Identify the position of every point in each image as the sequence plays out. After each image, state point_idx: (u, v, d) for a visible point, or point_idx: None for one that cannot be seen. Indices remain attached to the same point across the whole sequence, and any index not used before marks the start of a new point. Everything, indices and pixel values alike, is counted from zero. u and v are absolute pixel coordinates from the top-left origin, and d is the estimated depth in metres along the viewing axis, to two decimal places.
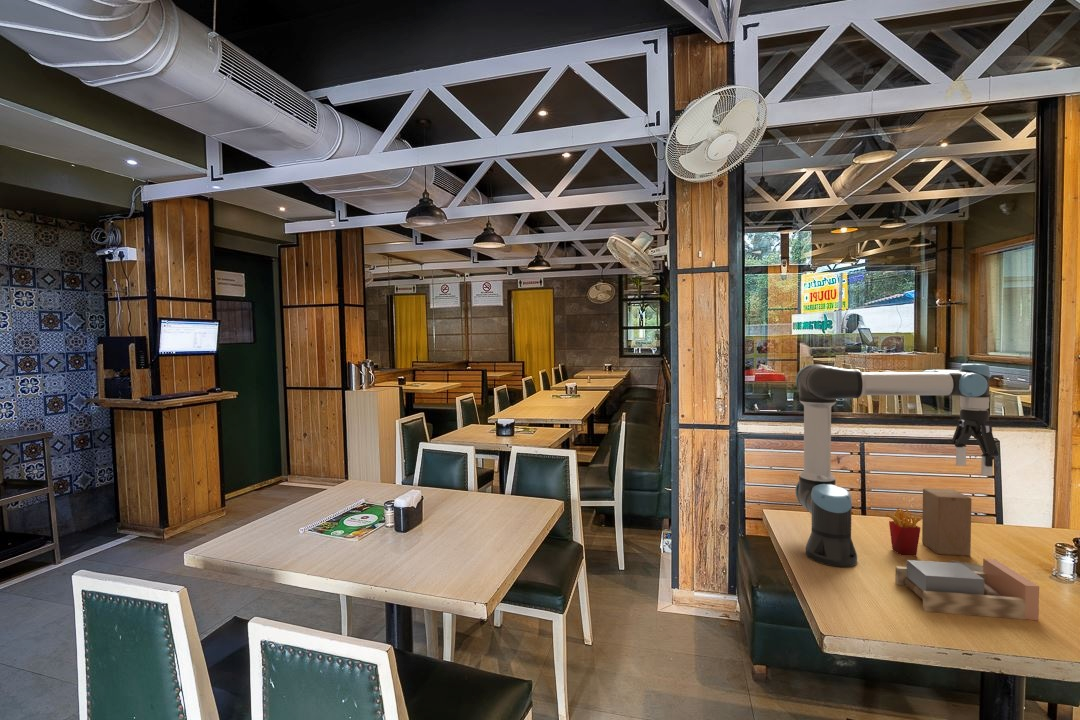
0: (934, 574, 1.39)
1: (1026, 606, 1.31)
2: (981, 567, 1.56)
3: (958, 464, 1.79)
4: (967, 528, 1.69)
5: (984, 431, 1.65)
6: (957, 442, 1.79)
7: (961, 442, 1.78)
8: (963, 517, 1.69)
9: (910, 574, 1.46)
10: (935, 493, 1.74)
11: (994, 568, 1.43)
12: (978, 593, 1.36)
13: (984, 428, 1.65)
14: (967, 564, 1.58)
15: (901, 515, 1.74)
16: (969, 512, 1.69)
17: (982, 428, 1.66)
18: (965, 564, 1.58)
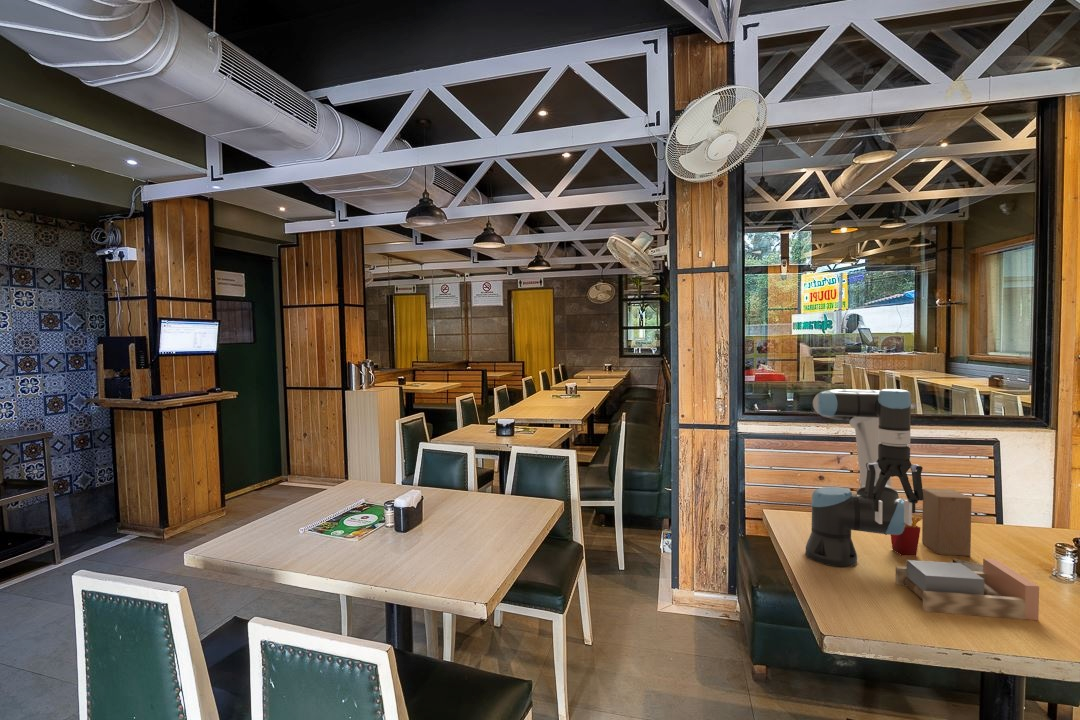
0: (934, 574, 1.39)
1: (1026, 606, 1.31)
2: (982, 566, 1.56)
3: (904, 521, 1.44)
4: (967, 528, 1.69)
5: (867, 469, 1.46)
6: None
7: (906, 492, 1.44)
8: (963, 517, 1.69)
9: (910, 574, 1.46)
10: (935, 493, 1.74)
11: (994, 568, 1.43)
12: (978, 593, 1.36)
13: (866, 466, 1.46)
14: (968, 563, 1.59)
15: None
16: (969, 512, 1.69)
17: None
18: (966, 563, 1.59)
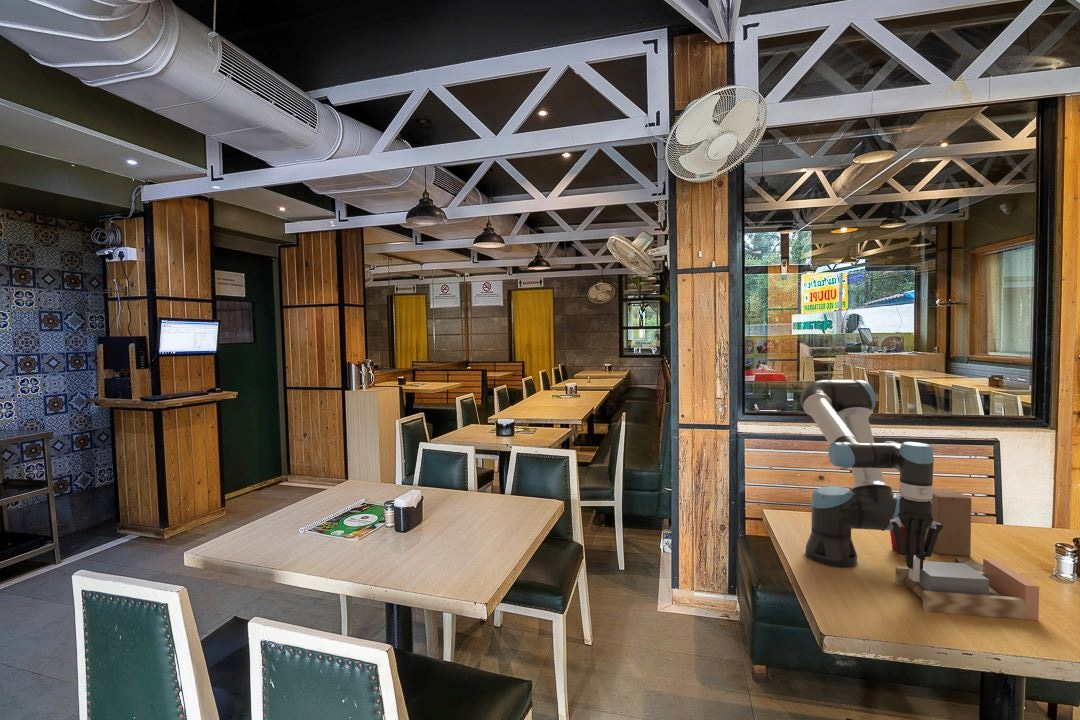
0: (939, 574, 1.39)
1: (1026, 606, 1.31)
2: None
3: None
4: (967, 528, 1.69)
5: (891, 525, 1.45)
6: None
7: (916, 546, 1.43)
8: (962, 517, 1.69)
9: None
10: (935, 493, 1.74)
11: (994, 568, 1.43)
12: (983, 593, 1.36)
13: (889, 523, 1.45)
14: (970, 562, 1.59)
15: None
16: (969, 512, 1.69)
17: None
18: (968, 562, 1.59)
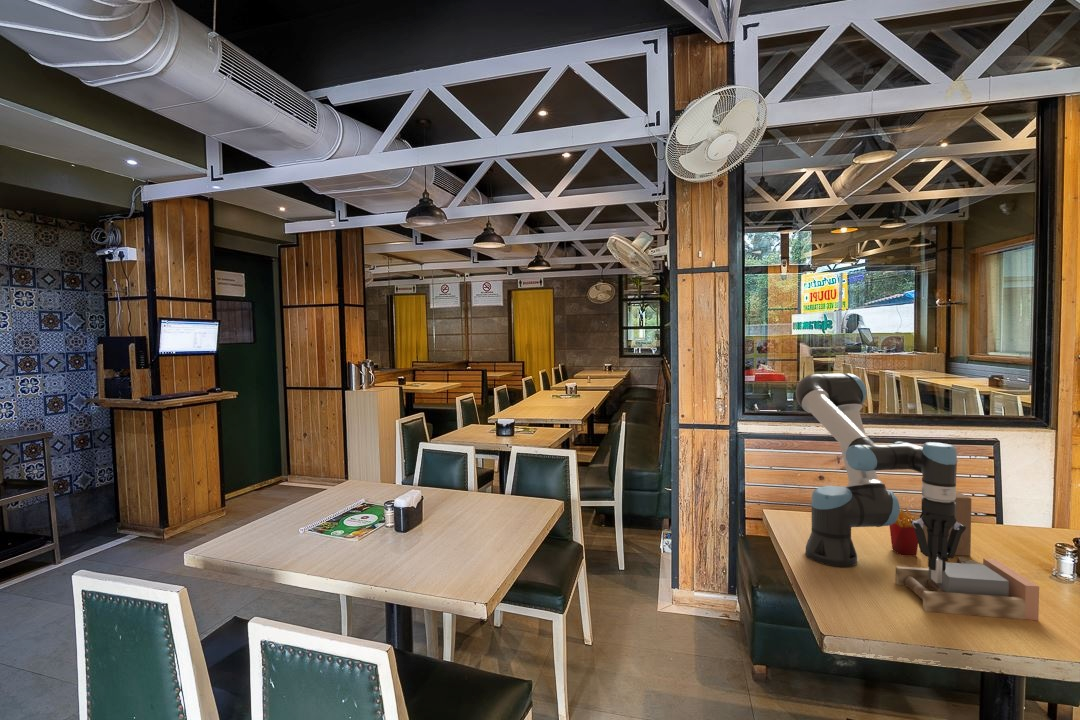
0: (958, 576, 1.38)
1: (1026, 606, 1.31)
2: None
3: None
4: (967, 528, 1.69)
5: (914, 527, 1.44)
6: None
7: (938, 548, 1.42)
8: (962, 517, 1.69)
9: None
10: None
11: (994, 568, 1.43)
12: (1003, 595, 1.35)
13: None
14: (971, 562, 1.59)
15: (901, 515, 1.74)
16: (969, 512, 1.69)
17: None
18: (969, 561, 1.60)
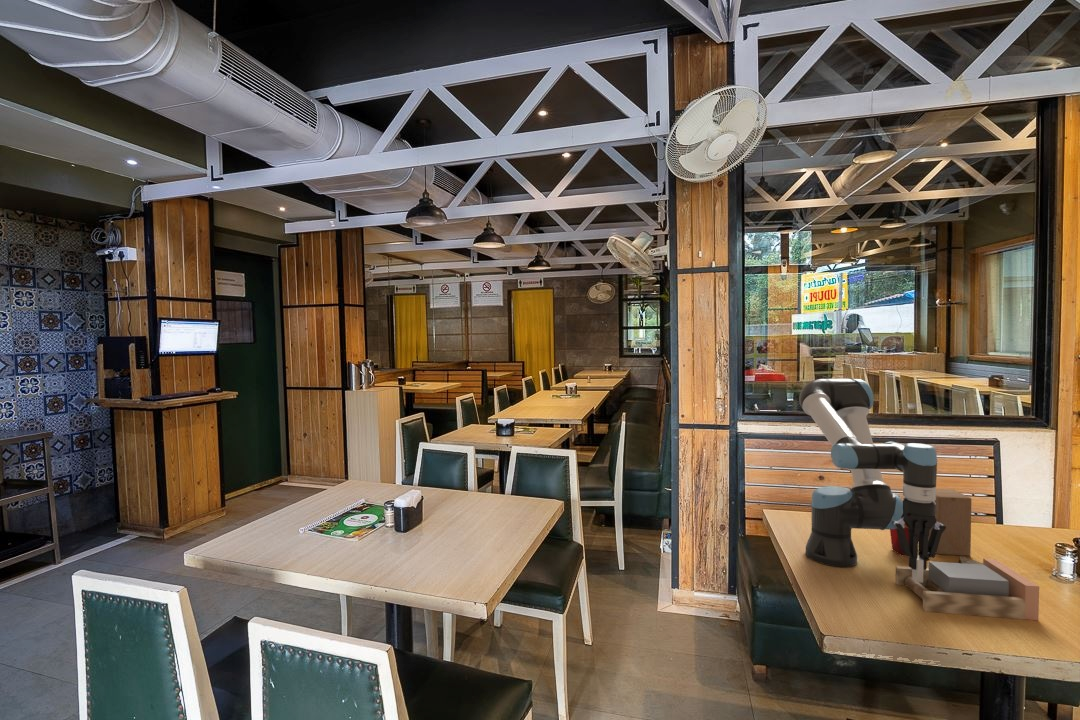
0: (958, 576, 1.38)
1: (1026, 606, 1.31)
2: None
3: None
4: (967, 528, 1.69)
5: (895, 527, 1.45)
6: None
7: (920, 547, 1.44)
8: (963, 517, 1.69)
9: (933, 576, 1.45)
10: None
11: (994, 568, 1.43)
12: (1003, 595, 1.35)
13: (893, 524, 1.45)
14: (972, 562, 1.60)
15: None
16: (969, 512, 1.69)
17: None
18: (970, 561, 1.60)
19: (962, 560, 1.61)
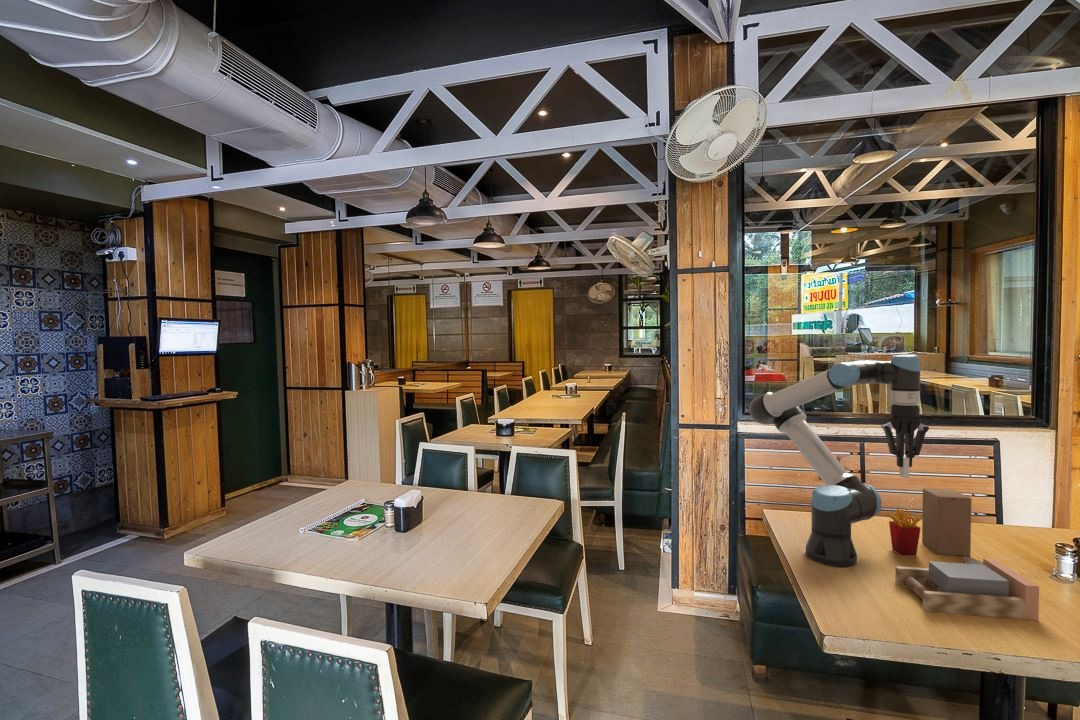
0: (958, 576, 1.38)
1: (1026, 606, 1.31)
2: None
3: None
4: (967, 528, 1.69)
5: (884, 430, 1.63)
6: None
7: (906, 447, 1.61)
8: (962, 517, 1.69)
9: (933, 576, 1.45)
10: (935, 493, 1.74)
11: (994, 568, 1.43)
12: (1003, 595, 1.35)
13: (882, 428, 1.63)
14: (976, 561, 1.60)
15: (901, 515, 1.74)
16: (969, 512, 1.69)
17: None
18: (973, 561, 1.60)
19: (965, 559, 1.62)
